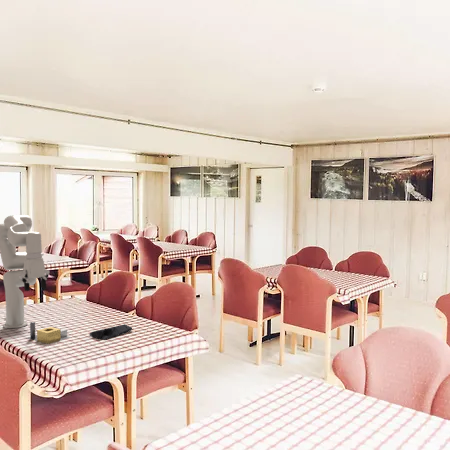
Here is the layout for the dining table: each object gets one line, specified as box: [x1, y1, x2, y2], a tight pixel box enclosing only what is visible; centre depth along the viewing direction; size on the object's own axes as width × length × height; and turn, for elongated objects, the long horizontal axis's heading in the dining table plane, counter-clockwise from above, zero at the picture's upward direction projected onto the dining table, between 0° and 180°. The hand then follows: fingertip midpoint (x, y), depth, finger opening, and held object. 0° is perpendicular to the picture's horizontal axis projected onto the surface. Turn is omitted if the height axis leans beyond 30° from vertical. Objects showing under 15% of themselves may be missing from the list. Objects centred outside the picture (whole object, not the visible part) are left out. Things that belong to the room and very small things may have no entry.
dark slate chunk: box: [88, 323, 133, 341], centre depth 262 cm, size 15×22×5 cm
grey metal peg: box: [29, 321, 36, 340], centre depth 248 cm, size 2×2×8 cm
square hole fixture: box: [26, 326, 72, 345], centre depth 249 cm, size 18×15×6 cm
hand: (35, 289), depth 251 cm, fingers open, 9 cm apart
